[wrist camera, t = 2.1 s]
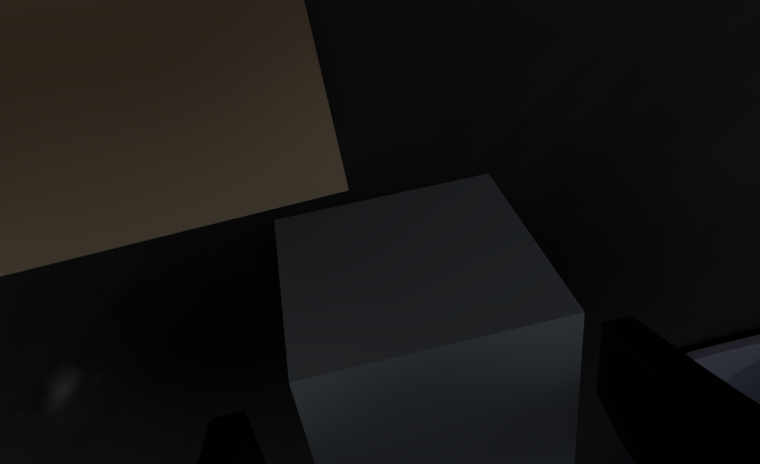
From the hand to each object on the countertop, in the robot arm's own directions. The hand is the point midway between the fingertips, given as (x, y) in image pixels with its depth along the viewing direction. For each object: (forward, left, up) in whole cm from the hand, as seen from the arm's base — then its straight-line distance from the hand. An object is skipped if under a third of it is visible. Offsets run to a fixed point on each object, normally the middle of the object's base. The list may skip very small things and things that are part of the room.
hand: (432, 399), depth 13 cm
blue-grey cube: (0, 0, -4) cm, 4 cm away
